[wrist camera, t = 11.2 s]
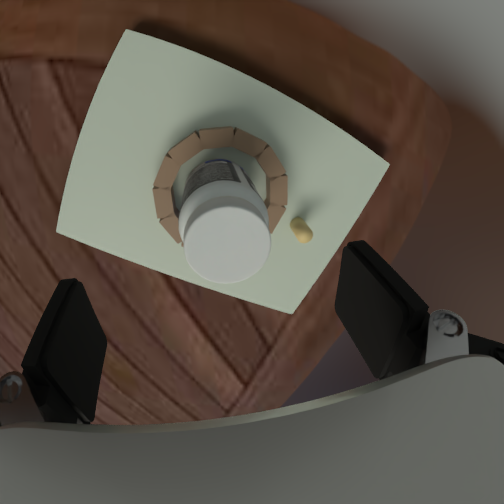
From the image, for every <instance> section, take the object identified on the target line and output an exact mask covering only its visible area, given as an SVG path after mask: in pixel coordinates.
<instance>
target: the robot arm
mask: <svg viewBox="0 0 504 504" xmlns="http://www.w3.org/2000/svg"><path fill="white" fill-rule="evenodd" d="M428 308H429V307H428V305H427V304H426V303H425V302H424V301H423V300H422V299H421V298H420V297H419V296H418V294H417V293H416V292H415V291H414V290H413V289H412V288H411V287H410V286H409V285H408V284H407V283H406V282H405V281H404V280H403V279H402V278H401V277H400V276H399V275H398V273H397V272H396V271H394V269H393V268H392V267H391V266H390V265H389V264H388V263H387V262H386V261H385V260H384V259H383V258H382V257H381V256H380V255H379V254H378V253H377V252H376V251H375V250H374V249H373V248H372V247H371V246H370V245H369V244H367V243H366V242H365V241H364V240H360V241H353V242H349V243H348V244H347V246H346V247H344V248H343V253H342V261H341V268H340V275H339V281H338V288H337V294H336V300H335V311H336V313H337V315H338V317H339V318H340V320H341V322H342V323H343V325H344V327H345V328H346V330H347V331H348V333H349V335H350V336H351V338H352V340H353V341H354V343H355V345H356V347H357V348H358V350H359V352H360V353H361V355H362V357H363V358H364V360H365V362H366V363H367V365H368V367H369V368H370V370H371V372H372V374H373V375H374V377H375V378H379V379H380V380H379V381H376V382H373V383H370V384H367V385H364V386H361V387H358V388H355V389H352V390H349V391H345V392H342V393H338V394H335V395H332V396H328V397H324V398H320V399H317V400H312V401H309V402H305V403H301V404H296V405H292V406H287V407H283V408H278V409H273V410H268V411H263V412H257V413H252V414H246V415H240V416H233V417H226V418H219V419H211V420H202V421H193V422H181V423H168V424H149V425H92V424H90V422H92V421H93V420H94V417H95V410H96V403H97V397H98V390H99V384H100V379H101V373H102V368H103V362H104V357H105V353H106V348H107V339H106V336H105V334H104V332H103V330H102V328H101V325H100V323H99V321H98V319H97V317H96V314H95V312H94V310H93V308H92V305H91V303H90V301H89V298H88V296H87V294H86V291H85V289H84V286H83V284H82V283H81V282H78V280H77V279H75V278H72V279H64V280H61V281H60V282H59V284H58V286H57V288H56V289H55V291H54V293H53V295H52V297H51V299H50V301H49V303H48V305H47V307H46V309H45V311H44V313H43V315H42V317H41V319H40V322H39V324H38V326H37V328H36V330H35V332H34V335H33V337H32V339H31V342H30V344H29V346H28V349H27V351H26V354H25V356H24V359H23V361H22V364H21V366H22V368H23V369H24V370H23V372H22V374H21V373H20V372H16V371H12V372H8V373H6V374H4V375H3V376H2V377H1V378H0V504H504V344H502V343H499V342H496V341H493V340H489V339H486V338H483V337H479V336H476V335H473V334H469V333H468V331H467V326H466V323H465V322H464V320H463V319H462V318H461V317H460V316H459V315H457V314H455V313H453V312H451V311H448V310H437V311H435V312H433V313H432V314H431V315H430V314H429V313H428V312H427V311H428Z"/></svg>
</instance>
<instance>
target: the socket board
mask: <svg viewBox="0 0 504 504" xmlns="http://www.w3.org/2000/svg"><path fill="white" fill-rule="evenodd" d="M211 159H227V160H230V161H232V162H235V163H236V164H238V165H239V166H241V167H242V168H243V169H244V170H245V171H246V173H247V174H248V176H249V177H250V179H251V181H252V182H253V184H254V186H255V188H256V190H257V192H258V193H259V195H260V197H261V198H262V200H263V201H264V204H265V206H266V208H267V212H268V216H269V231H270V234H271V250H270V254H269V256H268V259H267V260H266V262H265V264H264V265H263V266H262V268H261V269H260V270H259V271H258V272H257V273H255V274H254V275H252V276H251V277H249V278H247V279H245V280H243V281H240V282H236V283H227V284H223V283H215V282H211V281H208V280H206V279H204V278H202V277H201V276H199V275H198V274H197V273H196V272H194V270H193V269H192V268H191V267H190V266H189V264H188V262H187V260H186V257H185V254H184V246H183V245H184V243H183V241H182V239H181V236H180V233H179V224H178V218H179V212H180V209H181V204H182V196H183V192H184V187H185V183H186V180H187V178H188V176H189V174H190V173H191V172H192V170H193V169H194V168H195V167H197V166H198V165H199V164H201V163H203V162H205V161H208V160H211ZM389 165H390V164H389V163H388V162H386V161H385V160H384V159H382V158H381V157H380V156H378V155H377V154H376V153H374V152H373V151H372V150H370V149H369V148H368V147H366V146H365V145H363V144H362V143H361V142H359V141H358V140H356V139H355V138H353V137H352V136H351V135H349V134H348V133H346V132H345V131H343V130H342V129H340V128H339V127H337V126H336V125H334V124H333V123H331V122H330V121H328V120H326V119H325V118H323V117H322V116H320V115H318V114H317V113H315V112H314V111H312V110H310V109H309V108H307V107H305V106H304V105H302V104H300V103H299V102H297V101H295V100H293V99H292V98H290V97H288V96H286V95H284V94H283V93H281V92H279V91H277V90H275V89H273V88H272V87H270V86H268V85H266V84H264V83H262V82H260V81H258V80H256V79H254V78H252V77H250V76H248V75H246V74H244V73H242V72H240V71H238V70H235V69H233V68H231V67H229V66H227V65H224V64H222V63H220V62H218V61H215V60H213V59H211V58H208V57H206V56H203V55H201V54H198V53H196V52H193V51H191V50H188V49H186V48H183V47H180V46H178V45H175V44H172V43H169V42H166V41H163V40H160V39H157V38H154V37H151V36H148V35H145V34H141V33H138V32H135V31H131V30H128V29H126V30H125V32H124V34H123V36H122V38H121V39H120V41H119V43H118V45H117V47H116V49H115V51H114V53H113V55H112V57H111V59H110V61H109V63H108V65H107V67H106V70H105V72H104V74H103V76H102V78H101V81H100V83H99V85H98V88H97V90H96V92H95V95H94V97H93V100H92V102H91V105H90V108H89V110H88V113H87V116H86V118H85V121H84V124H83V127H82V130H81V133H80V136H79V139H78V142H77V145H76V149H75V152H74V155H73V159H72V162H71V166H70V170H69V173H68V177H67V181H66V185H65V190H64V194H63V198H62V203H61V208H60V213H59V218H58V224H57V230H56V232H58V233H60V234H62V235H65V236H67V237H70V238H72V239H75V240H77V241H80V242H82V243H85V244H87V245H90V246H92V247H95V248H98V249H100V250H103V251H105V252H108V253H110V254H113V255H116V256H118V257H121V258H124V259H126V260H129V261H132V262H135V263H137V264H140V265H143V266H145V267H148V268H151V269H154V270H157V271H159V272H162V273H165V274H168V275H171V276H174V277H176V278H179V279H182V280H185V281H188V282H191V283H194V284H197V285H200V286H203V287H206V288H209V289H212V290H215V291H218V292H221V293H224V294H227V295H230V296H234V297H237V298H240V299H243V300H246V301H249V302H253V303H256V304H259V305H262V306H266V307H269V308H272V309H276V310H279V311H282V312H286V313H289V314H293V312H294V311H295V309H296V308H297V307H298V305H299V304H300V303H301V301H302V300H303V298H304V297H305V296H306V294H307V293H308V291H309V290H310V289H311V287H312V286H313V284H314V283H315V281H316V280H317V278H318V277H319V276H320V274H321V273H322V271H323V270H324V268H325V267H326V265H327V264H328V262H329V261H330V259H331V258H332V256H333V255H334V254H335V252H336V251H337V249H338V247H339V246H340V244H341V243H342V241H343V240H344V238H345V237H346V235H347V234H348V232H349V231H350V229H351V228H352V226H353V224H354V223H355V221H356V220H357V218H358V217H359V215H360V213H361V212H362V210H363V209H364V207H365V205H366V204H367V202H368V200H369V199H370V197H371V196H372V194H373V192H374V191H375V189H376V187H377V186H378V184H379V182H380V181H381V179H382V177H383V175H384V174H385V172H386V170H387V169H388V167H389Z"/></svg>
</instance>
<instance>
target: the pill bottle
mask: <svg viewBox="0 0 504 504" xmlns="http://www.w3.org/2000/svg"><path fill="white" fill-rule="evenodd" d="M178 224H179V233H180V236H181V239H182V241H183V243H184V245H183V246H184V254H185V257H186V260H187V262H188V264H189V266H190V267H191V268H192V269H193V270H194V272H196V273H197V274H198V275H199V276H201V277H202V278H204V279H206V280H208V281H211V282H215V283H223V284H227V283H236V282H240V281H243V280H245V279H247V278H249V277H251V276H252V275H254V274H255V273H257V272H258V271H259V270H260V269H261V268H262V266H263V265H264V264H265V262H266V260H267V259H268V256H269V254H270V250H271V234H270V231H269V216H268V212H267V208H266V206H265V204H264V201H263V200H262V198H261V197H260V195H259V193H258V192H257V190H256V188H255V186H254V184H253V182H252V181H251V179H250V177H249V176H248V174H247V173H246V171H245V170H244V169H243V168H242V167H241V166H239V165H238V164H236V163H235V162H232V161H230V160H227V159H211V160H208V161H205V162H203V163H201V164H199V165H198V166H197V167H195V168H194V169H193V170H192V172H191V173H190V174H189V176H188V178H187V180H186V183H185V187H184V192H183V196H182V204H181V209H180V212H179V218H178Z"/></svg>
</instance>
